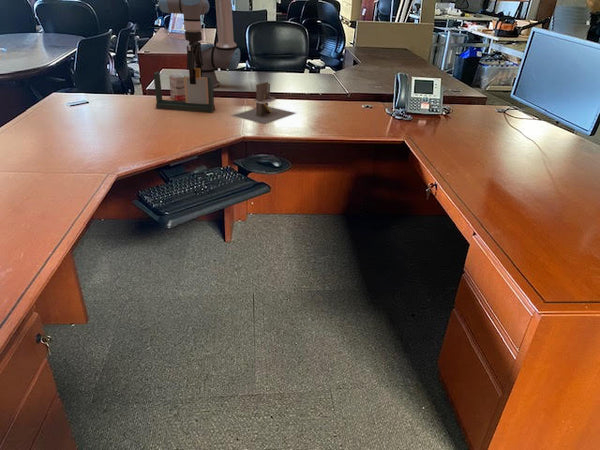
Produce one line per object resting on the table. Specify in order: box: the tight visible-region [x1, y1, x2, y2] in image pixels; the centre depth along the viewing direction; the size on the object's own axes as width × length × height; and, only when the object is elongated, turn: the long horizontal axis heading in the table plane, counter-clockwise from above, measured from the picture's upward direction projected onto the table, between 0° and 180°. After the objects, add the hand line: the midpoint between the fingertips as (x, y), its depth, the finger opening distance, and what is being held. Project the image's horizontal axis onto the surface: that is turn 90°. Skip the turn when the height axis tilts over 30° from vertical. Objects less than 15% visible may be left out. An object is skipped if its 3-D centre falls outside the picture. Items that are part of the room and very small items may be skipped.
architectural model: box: [232, 81, 295, 125], centre depth 214 cm, size 20×25×15 cm
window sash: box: [183, 68, 209, 104], centre depth 213 cm, size 3×12×17 cm, turn 84°
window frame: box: [152, 71, 216, 114], centre depth 215 cm, size 6×28×16 cm, turn 84°
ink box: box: [168, 74, 186, 101], centre depth 233 cm, size 8×5×12 cm, turn 39°
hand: (196, 81), depth 212 cm, fingers open, 9 cm apart
